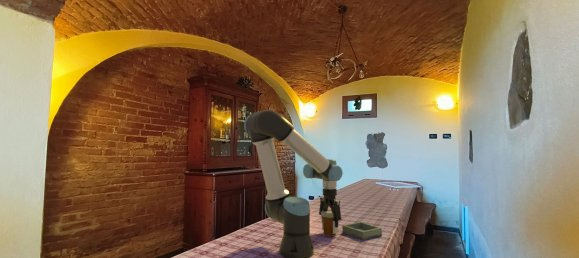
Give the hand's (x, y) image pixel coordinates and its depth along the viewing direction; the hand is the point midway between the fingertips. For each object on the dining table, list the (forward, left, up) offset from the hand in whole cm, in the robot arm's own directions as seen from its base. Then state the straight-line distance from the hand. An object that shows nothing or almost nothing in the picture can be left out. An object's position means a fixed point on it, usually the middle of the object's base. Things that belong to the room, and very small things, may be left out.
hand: (329, 231), depth 156 cm
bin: (+15, -8, -2) cm, 17 cm away
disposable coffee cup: (0, 0, -2) cm, 2 cm away
